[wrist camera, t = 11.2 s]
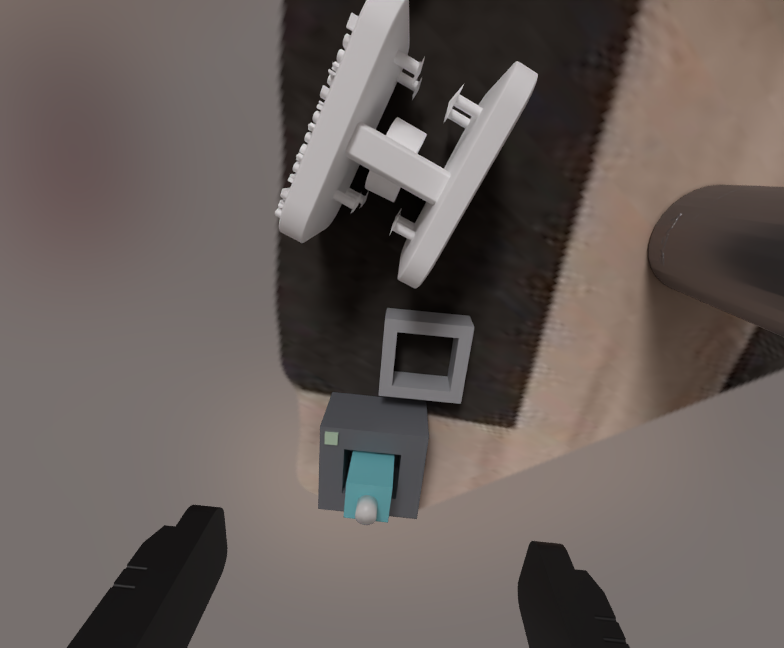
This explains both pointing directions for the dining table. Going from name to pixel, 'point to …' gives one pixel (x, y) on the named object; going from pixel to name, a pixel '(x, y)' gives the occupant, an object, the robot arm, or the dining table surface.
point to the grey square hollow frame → (421, 383)
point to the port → (373, 446)
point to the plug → (369, 487)
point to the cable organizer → (394, 142)
